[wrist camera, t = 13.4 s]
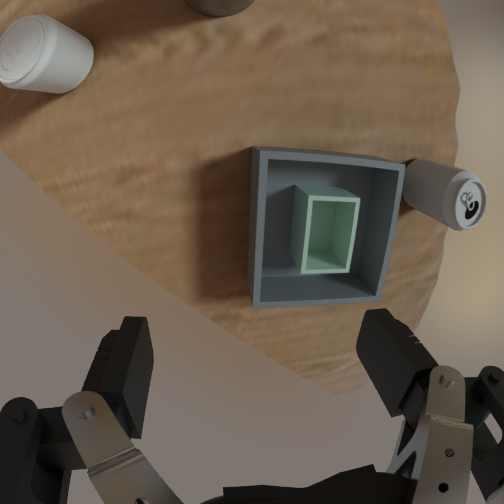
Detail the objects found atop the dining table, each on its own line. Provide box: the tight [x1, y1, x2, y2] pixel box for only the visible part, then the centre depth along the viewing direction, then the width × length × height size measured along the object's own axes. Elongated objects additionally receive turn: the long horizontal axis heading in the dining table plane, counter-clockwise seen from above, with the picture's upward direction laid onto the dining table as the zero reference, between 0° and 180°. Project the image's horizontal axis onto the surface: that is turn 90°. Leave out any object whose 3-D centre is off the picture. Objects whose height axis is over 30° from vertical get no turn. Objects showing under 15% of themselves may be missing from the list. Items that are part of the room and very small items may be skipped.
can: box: [402, 158, 487, 231], centre depth 33 cm, size 8×8×12 cm
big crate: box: [247, 146, 405, 308], centre depth 36 cm, size 18×17×7 cm
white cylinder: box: [0, 14, 94, 93], centre depth 22 cm, size 8×8×12 cm
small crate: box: [289, 185, 360, 274], centre depth 36 cm, size 9×6×6 cm, turn 178°
